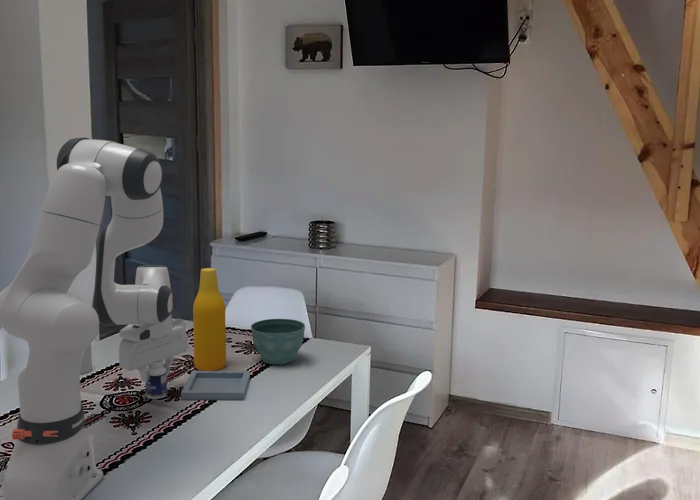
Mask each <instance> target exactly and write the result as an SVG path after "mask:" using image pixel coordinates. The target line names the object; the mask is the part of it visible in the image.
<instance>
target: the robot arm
mask: <svg viewBox="0 0 700 500" xmlns="http://www.w3.org/2000/svg"><path fill="white" fill-rule="evenodd" d="M56 170H57V171H56V173H55V174H54V176H53V178H52V181H51V183H50V185H49V187H48V190H47V193H46V195H45V197H44V201H43V203H42V207H41V212H40V214H39V218H38V222H37V225H36V229H35V232H34V236H33V239H32V242H31V246H30V248H29V251H28V254H27V256H26V258H25V260H24V261H23V263H22V265H21V267H20V268H19V271H18V272H17V274H16V275H15V278H14V279H13V280H12V282H11V283H10V284H9V285H8V286H6V287H5V288H3V290H1V291H0V327H1V328H2V329H3V330H4V331H6V333H8V334H9V335H11V336H13V337H15V338H18V339H20V340H23V341H25V342H27V345H28V350H29V351H28V359H27V364H26V367H25V368H23V370H22V371H20V374H19V375H18V378H17V384H18V385H17V386H18V397H19V398H18V399H19V400H18V402H19V414H18V419H17V422H16V428H13V430H12V433H11V439H12V440H13V441H14V440H15V443H14V447H13V449H12V452H11V454H10V457H9V461H8V464H7V467H6V469H5V472H4V476H3V482H2V484H1V485H0V500H82V499H83V498H85V496H86V495H88V494H89V493H90V491H91V490H92V489H93V488H94V487H95V486H96V485H97V484H98V483H100V481H101V480H102V479H103V478H104V472H103V471H102V470H101V469H99V468H97V464H96V457H95V449H94V441H93V438H92V437H91V435H90V434H89V433H88V432H87V431H86V429H85V412H84V406H83V405H82V402H81V401H82V400H81V378H80V377H81V375H80V368H81V362H82V358H83V355H84V352H85V349H86V348H87V347H88V346H89V345H90V344H91V345H92V343H93V342H94V340H95V339H96V337H97V335H98V333H99V329H100V325H101V326H103V327H113V326H120V325H123V326H124V325H126V326H124V327H123V328H122V329H120V330H119V337H120V338H121V341H120V343H119V346H118V363H119V366H120V368H121V369H122V370H124V371H129V372H132V371H135V370H137V371H138V373H139V375H140V380H141V382H144V383H145V382H146V381H149V380H150V374H147V373H146V371H145V370H146V369H147V368H148V365H149V364H152V363H155V362H158V361H160V360H163V361H164V362H163V366H164V367H165V368H166V372H167V374H170V373H171V366H172V364H173V362H174V356H177V355H180V354H183V353H185V352H187V351H188V347H189V343H188V341H189V340H188V335H187V330H186V323H185V321H184V320H183V319H181V318H176V319H173V320H172V313H173V312H174V292H173V289H172V288H171V287H172V286H171V281H170V279H171V278H170V274H169V270H168V267H167V266H165V265H162V264H142V265H139V266H137V268H136V271H135V272H136V273H135V281H134V282H135V283H134V284H119V283H116V282H115V280H114V279H115V267H116V258H117V257H119V256H120V255H122V254H124V253H125V252H129V251H131V250H134V249H137V248H141V247H143V246H145V245H147V244H149V243H151V242H152V241H153V240H154V239H156V237H158V235H159V234H160V233H161V231H162V229H163V225H164V206H163V205H164V204H163V196H162V195H163V194H162V191H161V186H162V182H163V178H164V177H163V176H164V169H163V165H162V162H161V161H160V159H159V158H158V157H157V155H156V154H155V153H153V152H151V151H149V150H148V149H147V150H146V149H144V148H140V147H139V148H135V147H133V146H130V145H125V144H122V143H119V142H115V141H114V140H113V141H112V140H104V139H94V138H93V139H91V138H90V137H89V138H88V137H75V138H74V137H73V138H70V139H68V140H67V141H66V142H65V143H64V144H63V145H62V146H61V147H60V149H59V151H58V153H57V155H56ZM106 196H108V197H110V198H111V199H110V203H111V211H112V215H111V220H110V222H109V224H107V225H105V226H104V227H102V230H101V231H100V228H101V225H102V220H103V215H104V210H105V203H106ZM99 231H100V234H99ZM98 236H99V238H98ZM97 240H98V244H97V253H96V261H95V274H94V275H95V276H94V290H93V294H92V299H91V304H89V302H86V301H85V300H84V299H82V298H81V297H80V296H77V295H76V294H71V293H68V292H69V290H70V288H71V286H72V284H73V282H74V280H75V279H76V278H77V277H78V275H79V274H80V273H81V272H82V271H84V270H85V269H87V267H89V266H90V264H91V262H92V260H93V255H94V252H95V247H96V243H97Z"/></svg>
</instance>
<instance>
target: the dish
mask: <svg viewBox="0 0 700 500" xmlns="http://www.w3.org/2000/svg"><path fill="white" fill-rule="evenodd" d="M250 373H251V372H250V370H216V371H201V370H192V371H191V372H190V375H188V376H189V377H188V379H187V380H186V382H185V384H184V386H183V388H182V389H181V392H180V400H181V401H244V400H245V397H246V393H247V389H248V385H249V383H250V378H251V374H250Z"/></svg>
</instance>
